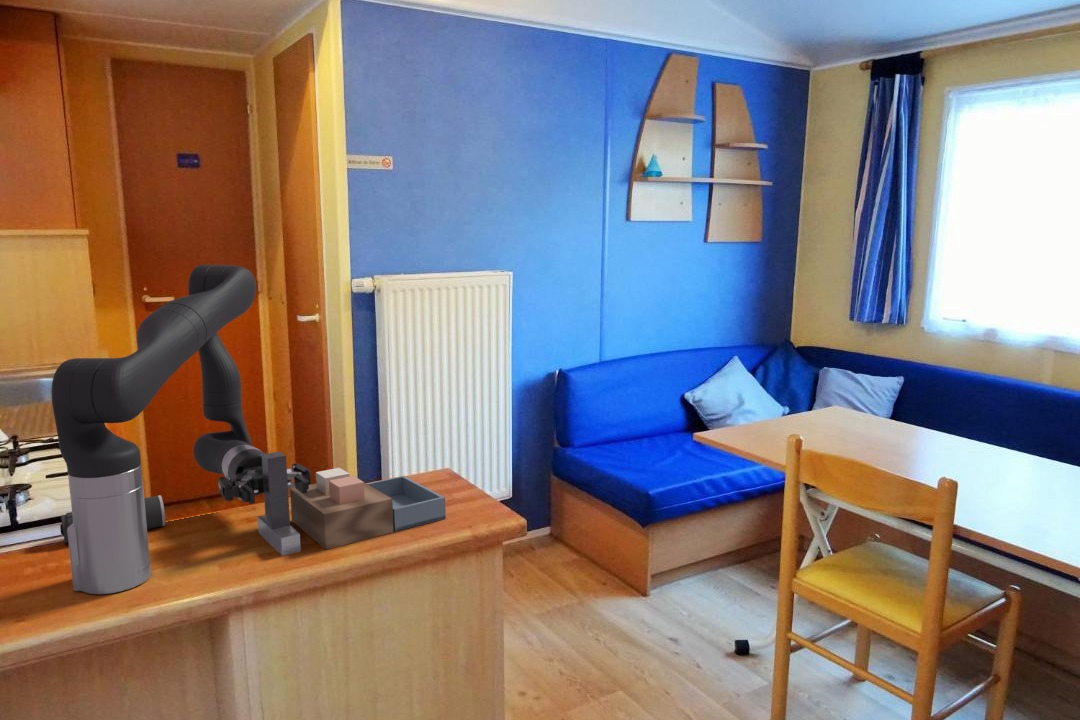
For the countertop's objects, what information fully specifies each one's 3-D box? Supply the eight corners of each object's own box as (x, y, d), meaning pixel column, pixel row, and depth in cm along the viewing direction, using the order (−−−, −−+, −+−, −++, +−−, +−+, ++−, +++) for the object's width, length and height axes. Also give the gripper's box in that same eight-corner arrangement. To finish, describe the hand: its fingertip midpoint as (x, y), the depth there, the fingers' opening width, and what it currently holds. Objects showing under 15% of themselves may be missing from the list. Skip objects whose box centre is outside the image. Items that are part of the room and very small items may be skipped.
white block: (326, 495, 131) (325, 478, 131) (316, 488, 135) (315, 472, 134) (350, 489, 134) (349, 473, 133) (340, 483, 137) (339, 467, 137)
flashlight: (62, 550, 124) (59, 518, 123) (61, 539, 128) (57, 509, 127) (166, 529, 132) (163, 499, 131) (161, 520, 136) (159, 491, 136)
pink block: (339, 504, 126) (339, 487, 126) (329, 497, 130) (328, 480, 129) (364, 499, 129) (363, 482, 129) (353, 492, 132) (353, 475, 132)
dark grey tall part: (282, 556, 121) (276, 465, 118) (258, 533, 130) (253, 448, 128) (300, 551, 122) (295, 461, 120) (276, 529, 132) (270, 445, 129)
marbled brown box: (326, 549, 123) (324, 514, 122) (291, 520, 135) (290, 488, 134) (393, 532, 130) (392, 498, 129) (354, 506, 143) (353, 475, 142)
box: (395, 531, 130) (394, 509, 130) (356, 506, 143) (355, 485, 142) (445, 518, 136) (445, 497, 136) (404, 495, 149) (403, 475, 148)
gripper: (205, 455, 131) (232, 478, 118) (287, 442, 140) (320, 462, 127) (208, 497, 132) (235, 524, 120) (289, 481, 141) (322, 505, 128)
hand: (279, 492), depth 123 cm, fingers open, 8 cm apart
